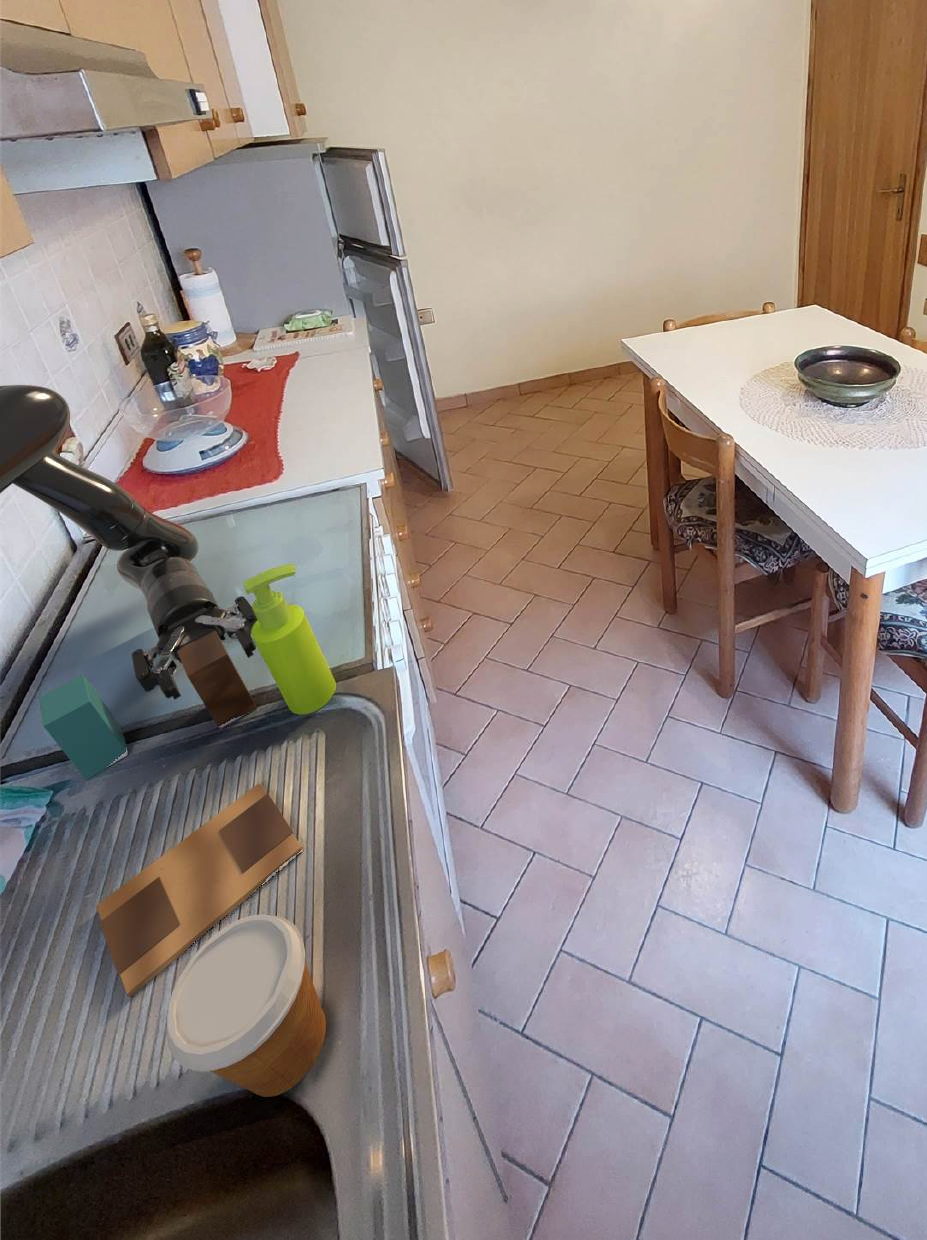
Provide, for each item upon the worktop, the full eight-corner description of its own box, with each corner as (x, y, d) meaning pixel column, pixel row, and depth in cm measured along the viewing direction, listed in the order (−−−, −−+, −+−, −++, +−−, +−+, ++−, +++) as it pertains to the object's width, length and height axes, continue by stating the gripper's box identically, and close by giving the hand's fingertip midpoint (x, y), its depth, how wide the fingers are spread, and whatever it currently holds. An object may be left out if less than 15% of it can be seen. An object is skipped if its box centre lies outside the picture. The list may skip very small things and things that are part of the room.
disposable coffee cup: (271, 1156, 51) (208, 1096, 45) (199, 1078, 56) (132, 1013, 50) (369, 1013, 58) (325, 945, 53) (298, 954, 63) (250, 885, 57)
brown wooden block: (220, 730, 85) (187, 676, 80) (209, 704, 89) (176, 650, 84) (257, 707, 87) (227, 653, 83) (244, 683, 91) (215, 630, 86)
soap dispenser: (349, 693, 88) (297, 577, 78) (292, 723, 85) (231, 606, 75) (338, 664, 92) (288, 551, 83) (284, 691, 89) (226, 577, 80)
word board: (128, 998, 61) (124, 994, 60) (98, 910, 68) (93, 905, 67) (304, 850, 71) (302, 845, 71) (262, 785, 78) (260, 781, 77)
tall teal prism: (86, 780, 80) (43, 726, 76) (80, 750, 84) (38, 697, 79) (129, 755, 83) (89, 700, 78) (121, 727, 87) (83, 673, 82)
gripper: (111, 617, 90) (134, 687, 80) (226, 561, 99) (261, 618, 88) (136, 656, 94) (161, 728, 83) (245, 599, 102) (281, 658, 91)
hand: (212, 671), depth 85 cm, fingers open, 8 cm apart
